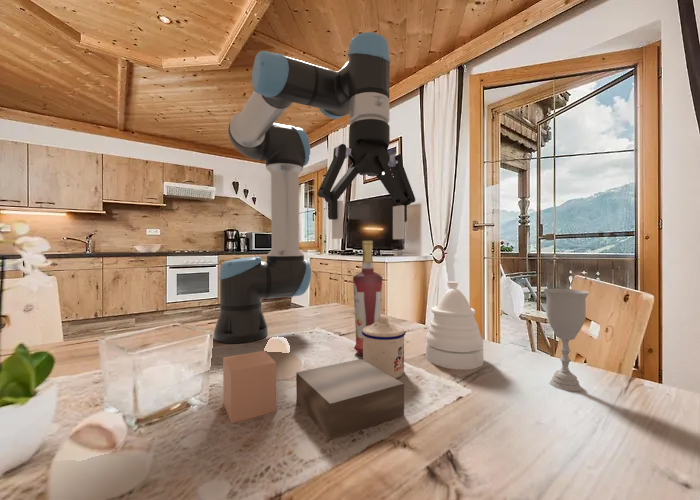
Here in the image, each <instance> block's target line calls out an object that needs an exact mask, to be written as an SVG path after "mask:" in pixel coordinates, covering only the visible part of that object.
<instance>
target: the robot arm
mask: <svg viewBox="0 0 700 500" xmlns="http://www.w3.org/2000/svg"><path fill="white" fill-rule="evenodd" d="M347 56H348V59H347V60H348V61H347V62H346V63H345V64H344V65H343V66H342V67H341V69H340V70H338V71H337V70H333V69H331V68H330V69H329V68H325V67H323V66H318V65H316V64H312V63H309V62H305V61H303V60H299V59H295V58H292V57H289V56H285V55H284V54H281V53H278V52H277V53H276V52H270V51H266V50H260V51H258V53H257V54H256V55H255V57H254V61H253V62H254V63H253V65H252V66H253V67H252V74H251V75H252V76H251V79H252V80H251V83H252V88H253V91H252V93H251V95H250V96H249V98H248V100H247V101H246V102H245V104H244V106H243V107H242V109H241V111H240V112H237V113H235V114H234V115H233V116H232V117H231V118H230V119H231V120H230V122H229V123H228V127H227V134H228V138H229V140H230V142H231V145H232V146H233V147H234V148H235V150H236V151H238V152H239V153H240V154H242V155H243V156H244V157H247V158H249V159H250V160H255V161H261V162H265V169H266V170H267V171H268V172H269V173H270V181H271V185H270V186H271V188H270V191H271V192H270V193H271V194H270V196H271V197H270V198H271V200H270V201H271V204H270V205H271V207H270V208H271V210H270V211H271V212H270V213H271V220H270V221H271V250H270V251H269V252H268V253H267V254H266V260H264V261H262V260H263V259H262V257H261V256H251V257H242V258H235V259H231V260H227V261H224V262H222V263H221V265H220V267H219V297H220V298H219V303H220V305H219V306H220V307H219V308H220V309H219V315H218V318H217V321H216V324H215V327H214V329H213V339H214V341H216V342H218V343H222V344H242V343H249V342H250V343H251V342H255V341H259V340H261V339H264V338H265V337H267V336H268V331H269V330H268V325H267V322H266V319H265V315H264V313H263V309H262V300H269V299H277V298H278V299H279V298H294V297H299V296H302V295H304V294H305V293H306V292H307V290H308V289H309V286H310V283H311V280H312V279H311V277H312V268H311V264H310V262H309V261H308V260H306V259H305V255H304V253H303V252H302V251H301V249H300V207H299V205H300V199H299V195H300V192H299V191H300V190H299V189H300V187H299V185H300V183H299V182H300V180H299V175H300V174H301V173H302V172H303V171H304V166H307V164H308V163H309V161H310V155H311V144H310V139H309V136H308V134H307V132H306V131H305V130H304V129H303V128H301V127H295V126H294V125H286V124H282V123H276V122H277V121H278V120H279V118H280V117H281V116H282V115H283V114H284V113H285V111H287V110H288V108H289V107H290V106H292V104H293V103H294V104H299V105H303V106H304V105H305V106H307V107H313V108H317V109H319V110H320V112H321V113H322V114H323V115H324V116H326V118H329V119H332V120H338V119H340V118H343V117H344V116H347V115H348V123H349V124H350V125H349V127H348V142H349V143H348V144H349V147H347V146H346V144H345V143H341V144H340V145H338V146H336V147H334V148H333V155H332V156H333V157H332V161H331V162H330V164H329V166H328V169H327V171H326V173H325V174H324V175H325V176H324V178H323V180H322V182H321V184H320V186H319V188H318V190H317V194H316V195H317V197H318V198H323V199H324V201H325V202H326V203H327V218H328V220H329V221H331V239H333V240H337V239H338V240H339V239H340V240H341V239H344V200H339V199H340V197H341V196H342V195H343V193H344V192H345V191H346V190H347V189H348V187H349V186H350V184H351V183H353V181H354V179H356V177H357V175H360V176H366V175H367V176H369V177H376V179H377V180H378V181H379V180H380V182H381V184H382V185H383V186H384V188H385V190H386V192H387V193H388V194H389V197H391V200H392V201H393V202H394V203H395V206H392V240H405V223H407V219H408V206H410V205H411V204H413V203H416V197H415V194H414V191H413V188H412V187H411V186H412V185H411V183H410V181H409V178H408V175H407V172H406V170H405V167H404V163H403V155H402V154H401V153H396V154H394V155H393V154H390V153H389V146H390V142H391V141H390V140H391V139H390V132H391V131H390V130H391V129H390V125H389V123H390V74H391V71H390V69H391V68H390V67H391V66H390V65H391V59H390V48H389V42H388V41H387V39H386V38H385V37H384V36H383V35H381V34H377V32H373V31H372V32H371V31H370V32H369V31H368V32H367V31H366V32H361V33H358V34H356V35H355V36H354V37H352V39H351V40H350V42H349V44H348V53H347ZM347 158H348V159H349V160H350V162H351V163H352V164H351V165H350V166H349V167H348V168H347V170H346V172H345V173H344V174H343V175H342V177H341V178H340V180H338V182H337V183H336V185H334V184H335V182H336V179H337V177H339V176H338V175H339V173H340V171H341V170H342V167H343V164H344V162H345V160H346V159H347ZM333 186H334V187H333Z"/></svg>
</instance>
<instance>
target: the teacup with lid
mask: <svg viewBox="0 0 700 500" xmlns="http://www.w3.org/2000/svg"><path fill="white" fill-rule="evenodd" d="M362 334H363V355H362V360H363V361H365V362H367V363H368V364H370V365H372V366H374V367H376V368H377V369H379V370H381V371H383V372H384V373H386V374H388V375H390V376H392V377H393V378H395V379H398V378H399V379H400V378H401V377H402V376H403V375H404V374H405V335H406V332H405V329H404V328H403V327H402V326H399V325H397V324H395V323H393V322H391V321H389V318H388V317H387V316H381V317H379V321H377V322H375V323H373V324H372V325H368V326H366V327H364V328H363V330H362Z"/></svg>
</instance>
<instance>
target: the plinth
mask: <svg viewBox="0 0 700 500" xmlns="http://www.w3.org/2000/svg"><path fill="white" fill-rule="evenodd" d="M295 377H296V379H295V380H296V385H295V386H296V391H295V392H296V395H295V396H296V397H295V398H296V399H295V400H296V403H298V405H299V406H300V407H301V408H302V410H304V412H305V413H306V414H307V415H308V416H309V417H310V418H311V420H312V421H313V422H314V423H315V424H316V425H317V426H318V428H319V429H320V430H321V431H322V432H323V433H324V434H325V436H327V438H328V439H329V440H334V439H336V438H340V437H343V436H345V435H348V434H352V433H354V432H357V431H361V430H363V429H364V430H365V429H367V428H369V427H372V426H375V425H378V424H381V423H384V422H387V421H391V420H394V419H395V418H396V419H397V418H399V417H402V416H405V383H404V382H402V381H400V380H399V379H398V378H396V379H395V378H393V377H392V376H390V375H388V374H386V373H384V372H383V371H381V370H379V369H377V368H376V367H374V366H372V365H370V364H368V363H367V362H365V361H363V359H361V358H359V359H353V360H349V361H345V362H339V363H335V364H331V365H326V366H321V367H316V368H312V369H305V370H301V371H296V375H295Z"/></svg>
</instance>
